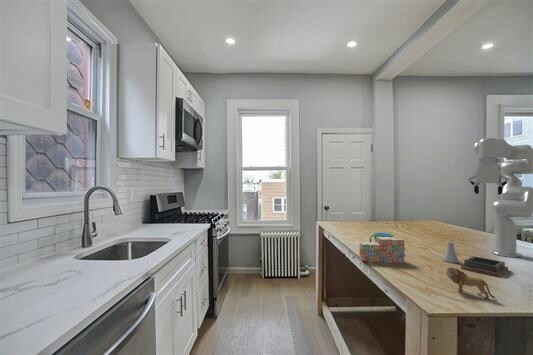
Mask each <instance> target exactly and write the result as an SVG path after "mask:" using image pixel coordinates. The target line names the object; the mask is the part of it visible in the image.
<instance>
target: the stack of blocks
mask: <svg viewBox="0 0 533 355" xmlns="http://www.w3.org/2000/svg"><path fill="white" fill-rule="evenodd" d="M394 237H395V236H394ZM394 237H377V242H375V241H374V242H373V241H371V242H370V241H359V260H360V261H361V262H364V263H387V264H388V263H389V264H405V250H406V248H405V247H406V246H405V239H403V238H401V237H396V238H394Z"/></svg>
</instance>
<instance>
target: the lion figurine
mask: <svg viewBox="0 0 533 355" xmlns="http://www.w3.org/2000/svg"><path fill="white" fill-rule="evenodd" d="M446 276H447V278H448V279H450V280H451V281H452V282H453V283H454V284H457V285H458V288H457V293H459V294H462V293H463V292H464V290H463V287H464V286H467V287H469V288H471V287H472V288H474V287H477V289H478V290H479V291H480V292H477V294H476V295H479V296H483V294H484V295H485V296H484V297H483V298H484V300H489V299H490V297H491V298H492V299H496V296H494V295H492V293H491V291H490V288H489V286H488V284H487V282H486V281H485V280H484V279H482V278H480V277H474V276H468V275H467V274H466V273H465V272H464V271H462V270H460V269H459V268H457V267H453V266H450V267H447V269H446ZM485 288H486V289H485ZM459 290H460V291H459ZM486 290H487V291H486Z"/></svg>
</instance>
